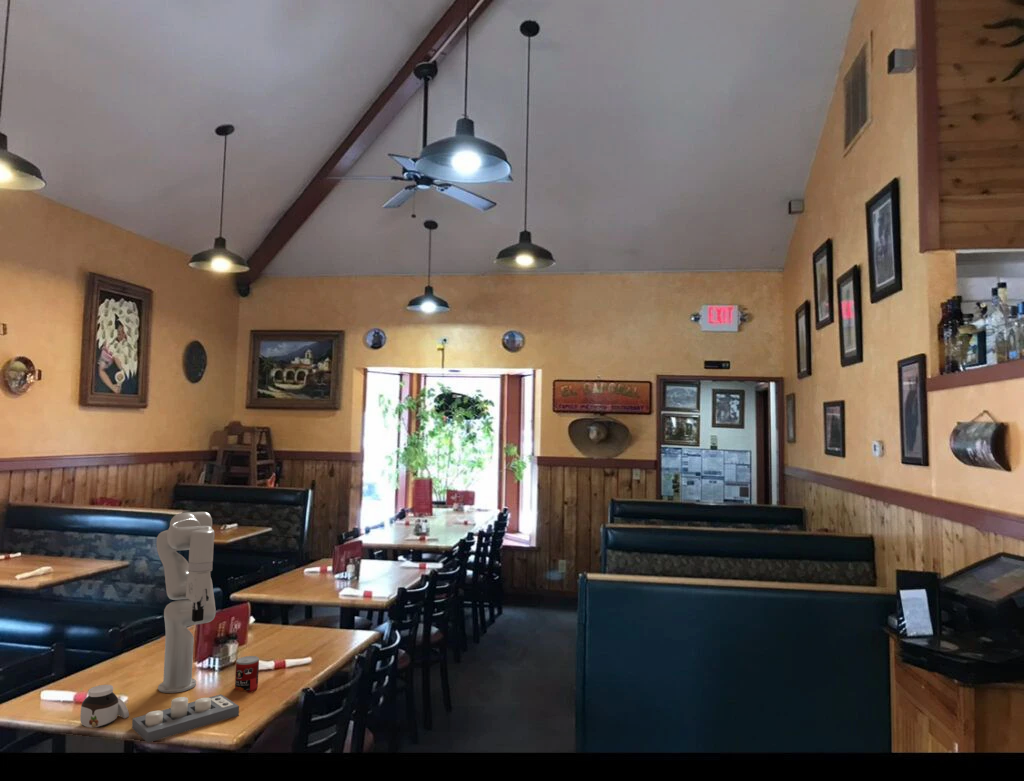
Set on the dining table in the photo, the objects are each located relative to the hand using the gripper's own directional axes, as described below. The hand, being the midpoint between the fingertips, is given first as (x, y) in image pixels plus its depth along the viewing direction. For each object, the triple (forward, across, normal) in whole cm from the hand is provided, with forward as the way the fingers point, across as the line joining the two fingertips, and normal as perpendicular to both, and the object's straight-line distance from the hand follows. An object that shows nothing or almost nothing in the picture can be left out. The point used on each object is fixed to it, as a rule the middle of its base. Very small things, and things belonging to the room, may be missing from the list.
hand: (197, 620), depth 227 cm
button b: (+27, +9, -8) cm, 29 cm away
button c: (+29, +9, -15) cm, 34 cm away
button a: (+29, +9, 0) cm, 30 cm away
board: (+30, +9, -5) cm, 32 cm away
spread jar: (+31, -9, -24) cm, 40 cm away
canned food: (+31, -7, +21) cm, 38 cm away
